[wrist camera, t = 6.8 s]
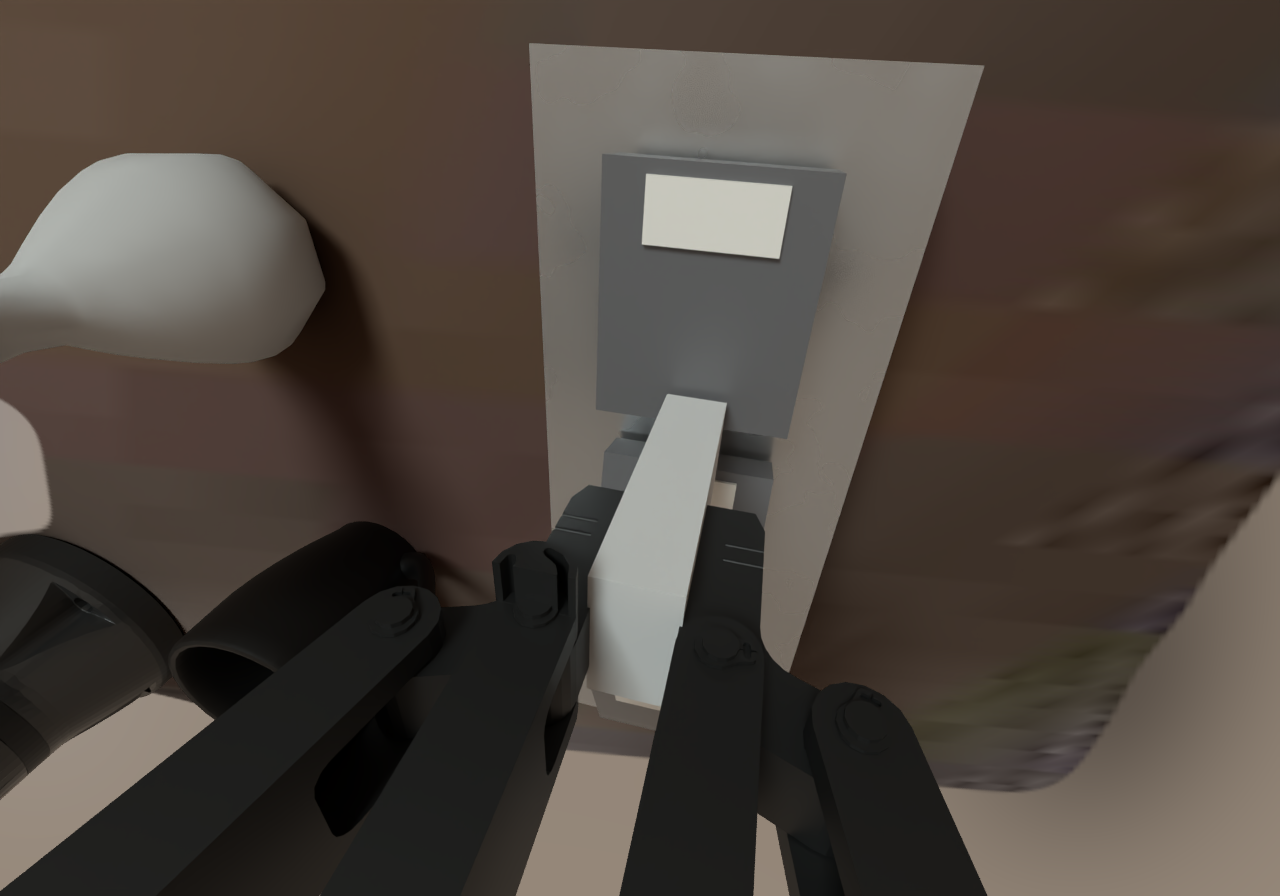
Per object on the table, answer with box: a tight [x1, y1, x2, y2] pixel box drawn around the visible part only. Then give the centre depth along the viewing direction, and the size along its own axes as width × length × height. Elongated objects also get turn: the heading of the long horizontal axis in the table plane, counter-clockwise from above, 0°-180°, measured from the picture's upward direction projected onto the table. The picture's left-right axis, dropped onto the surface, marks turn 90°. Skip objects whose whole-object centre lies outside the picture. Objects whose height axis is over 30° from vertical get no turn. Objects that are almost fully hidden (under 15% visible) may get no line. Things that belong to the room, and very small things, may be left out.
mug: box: [168, 522, 435, 720], centre depth 28 cm, size 8×12×10 cm
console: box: [529, 43, 984, 707], centre depth 21 cm, size 10×26×6 cm, turn 177°
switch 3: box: [601, 437, 774, 529], centre depth 18 cm, size 5×6×2 cm
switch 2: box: [596, 152, 847, 439], centre depth 13 cm, size 5×6×2 cm
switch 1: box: [591, 689, 661, 731], centre depth 22 cm, size 5×6×2 cm
